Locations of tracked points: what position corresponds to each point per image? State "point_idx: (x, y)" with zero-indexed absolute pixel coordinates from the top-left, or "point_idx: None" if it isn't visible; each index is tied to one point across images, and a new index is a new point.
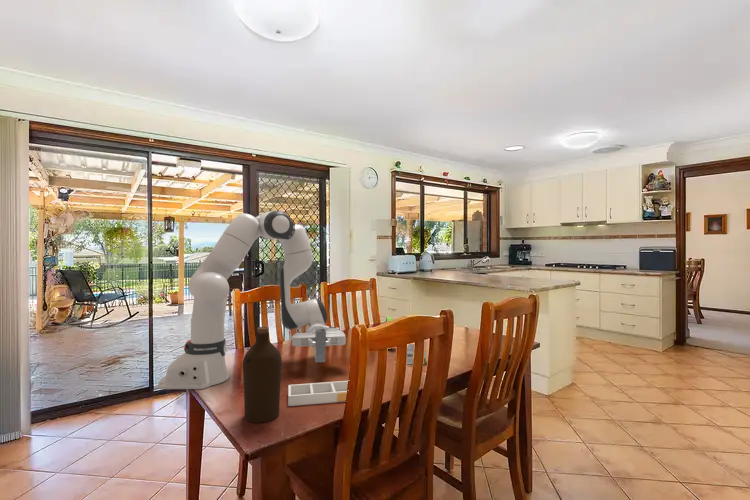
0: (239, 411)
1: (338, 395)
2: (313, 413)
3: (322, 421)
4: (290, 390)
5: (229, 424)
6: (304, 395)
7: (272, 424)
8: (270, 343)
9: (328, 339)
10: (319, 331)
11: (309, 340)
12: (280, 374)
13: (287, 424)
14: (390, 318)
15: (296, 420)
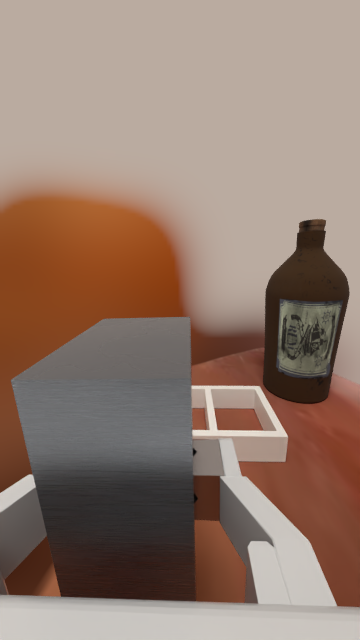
0: (354, 402)
1: None
2: (204, 382)
3: (191, 367)
4: (265, 405)
5: (332, 376)
6: (224, 386)
7: (262, 370)
8: (291, 255)
9: (4, 507)
10: (158, 319)
11: (274, 509)
12: (265, 314)
13: (240, 368)
14: None
15: (229, 372)
